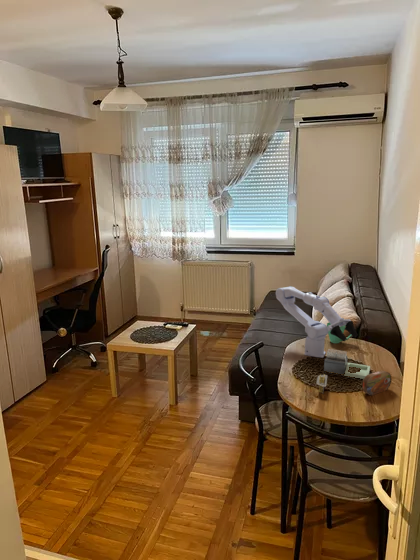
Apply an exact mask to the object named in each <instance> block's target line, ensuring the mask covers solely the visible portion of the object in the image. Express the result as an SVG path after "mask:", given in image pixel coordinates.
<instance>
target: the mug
mask: <svg viewBox="0 0 420 560" xmlns="http://www.w3.org/2000/svg"><path fill="white" fill-rule="evenodd" d="M329 325H331V324H330V322H329V321H328V322H327V323H326V326H327V327H328V326H329ZM340 329H341V331H342V333H343V334H344V332H345V331H346V330H345V326H342V327H340ZM330 332H331V331H329V330H328V334H327V335H328V338H329V341H330V342H331V344H332V343H333V344H340V343H342V342H343V341H342V340H341V339H340V338H338V337H337V336H335V335H332V334H331V333H330ZM352 337H353V336H352V335H351V334H349V335H348V336H347V337H346V338H347V339H346V340H345V341H344V342H346V341H348V340H349V339H351V338H352Z"/></svg>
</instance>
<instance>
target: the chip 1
mask: <svg viewBox="0 0 420 560" xmlns="http://www.w3.org/2000/svg"><path fill="white" fill-rule="evenodd" d="M326 350H327V351H326V357H327V358H325V359H329V360H336V355H337V351H338V349H332V348H328V349H326Z"/></svg>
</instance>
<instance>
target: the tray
mask: <svg viewBox="0 0 420 560" xmlns="http://www.w3.org/2000/svg"><path fill="white" fill-rule="evenodd" d="M349 367H356V368H360V369H361V370H360V372H356V373H350V372H348V370H349ZM370 371H371V365H366V364H361V363H360V364H358V363H355V362H354V363H353V362H347V367H346V370H345V374H344V376H350V377H355V378H360V379H359V380H361V379H364V378H365V377H366V376H367V375H368V374H370V373H371V372H370ZM355 378H354V379H355Z"/></svg>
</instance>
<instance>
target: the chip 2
mask: <svg viewBox="0 0 420 560" xmlns="http://www.w3.org/2000/svg"><path fill="white" fill-rule="evenodd" d="M347 352H348V351H345V350H339V349H337V355H336V361H342V362H346V356H348V355H347Z"/></svg>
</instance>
